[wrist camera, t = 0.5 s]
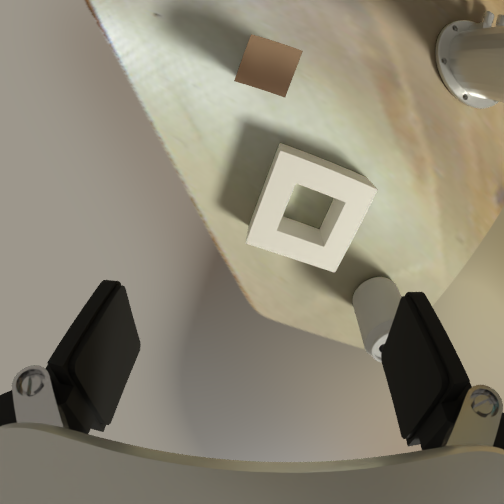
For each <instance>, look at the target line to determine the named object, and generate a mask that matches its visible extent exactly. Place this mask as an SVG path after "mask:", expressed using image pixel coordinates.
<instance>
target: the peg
mask: <svg viewBox="0 0 504 504" xmlns="http://www.w3.org/2000/svg"><path fill="white" fill-rule="evenodd" d="M302 52H303V51H301V50H299V49H296V48H293V47H290V46H287V45H284V44H281V43H278V42H275V41H272V40H269V39H265V38H262V37H259V36H255V35H252V34H251V36H250V39H249V42H248V44H247V47H246V50H245V52H244V55H243V58H242V61H241V63H240V66H239V69H238V72H237V75H236V77H235V80H234V81H236V82H239V83H243V84H246V85H249V86H252V87H256V88H259V89H262V90H265V91H268V92H271V93H274V94H277V95H279V96H282V97H285V96H286V93H287V91H288V88H289V86H290V83H291V80H292V78H293V75H294V72H295V70H296V67H297V65H298V62H299V59H300V57H301V54H302Z"/></svg>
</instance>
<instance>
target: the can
mask: <svg viewBox="0 0 504 504" xmlns="http://www.w3.org/2000/svg"><path fill="white" fill-rule="evenodd" d="M401 297H402V296H401V294H400V292H399V290H398V288H397V286H396V284H395V283H394V282H393V281H392V280H390V279H388V278H384V277H376V278H371V279H369V280H367V281H365V282H363V283H362V284H361V285H360V286H359V287H358V288H357V289H356V291H355V292H354V295H353V307H354V310H355V314H356V317H357V321H358V324H359V328H360V332H361V336H362V339H363V343H364V347H365V349H366V352H367V353H369V354H370V355H371V356H372V357H373V358H374V359H375V360H376V361H379V362H382V361H381V353H382V350H383V347H384V345H385V342H386V339H387V337H388V334H389V331H390V328H391V325H392V323H393V320H394V317H395V314H396V311H397V308H398V305H399V302H400V299H401Z"/></svg>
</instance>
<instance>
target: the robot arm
mask: <svg viewBox="0 0 504 504" xmlns="http://www.w3.org/2000/svg"><path fill="white" fill-rule="evenodd" d="M483 18H484V19H483V22H481V23H475V22H473V21H468V20H459V21H455V22H452V23H450V24H448V25H446V26H445V27H444V28H443V29H442V31H441V32H440V34H439V36H438V39H437V42H436V49H435V53H436V63H437V68H438V70H439V73H440V76H441V78H442V80H443V82H444V84H445V86H446V87H447V88H448V90H449V91H450V92H451V93H452V94H453V96H454V97H455V98H457V99H458V100H459V101H460V102H462V103H464V104H466V105H468V106H471V107H474V108H480V109H482V108H489V107H492V106H494V105H495V104H497V103H498V102H503V103H504V15H498V17H497V21H496V27H491V25H492V23H493V19H494V14H493V13H491V12H489V11H485V14H484V17H483ZM441 60H442V61H441ZM139 351H140V340H139V337H138V333H137V330H136V326H135V323H134V319H133V316H132V312H131V308H130V304H129V300H128V297H127V293H126V289H125V287H124V286H121V283H120V282H119V281H109V280H103V281H102V282H101V283H100V285H99V286H98V288H97V289H96V290H95V292H94V293H93V295H92V296H91V297H90V299H89V300H88V302H87V303H86V304H85V306H84V307H83V309H82V310H81V312H80V313H79V315H78V316H77V318H76V319H75V320H74V322H73V323H72V325H71V326H70V328H69V329H68V331H67V333H66V334H65V336H64V337H63V339H62V340H61V342H60V343H59V345H58V346H57V348H56V350H55V352H54V353H53V354H52V356H51V358H50V359H49V361H48V365H47V367H46V369H45V368H43V367H41V366H37V365H33V366H29V367H26V368H24V369H22V370H21V371H20V372H19V373H18V374H17V375H16V377H15V378H14V380H13V383H12V390H11V391H9V392H7V393H4V394H2V395H0V504H504V413H503V412H502V410H503V404H502V400H501V398H500V396H499V394H498V393H497V392H496V391H495V390H494V389H491V388H490V387H488V386H485V385H476V386H473V387H472V386H471V384H470V380H469V378H468V376H467V374H466V371H465V369H464V367H463V365H462V363H461V361H460V359H459V357H458V355H457V353H456V351H455V349H454V347H453V345H452V343H451V341H450V339H449V337H448V335H447V333H446V331H445V330H444V328H443V326H442V324H441V322H440V320H439V319H438V317H437V315H436V313H435V311H434V309H433V308H432V306H431V304H430V302H429V301H428V299H427V297H426V295H425V294H424V293H423V292H408V293H406V295H405V296H403V297H401V299H400V302H399V305H398V308H397V311H396V314H395V317H394V320H393V323H392V325H391V328H390V331H389V334H388V337H387V339H386V342H385V345H384V347H383V350H382V353H381V361H382V364H383V368H384V371H385V375H386V378H387V382H388V385H389V389H390V393H391V397H392V400H393V404H394V408H395V412H396V415H397V420H398V424H399V428H400V432H401V436H402V437H403V439H406V440H407V445H408V446H413V445H418V444H421V448H422V451H416V452H410V453H403V454H396V455H389V456H381V457H373V458H364V459H353V460H341V461H326V462H256V461H239V460H226V459H216V458H206V457H198V456H190V455H183V454H176V453H170V452H164V451H159V450H153V449H148V448H143V447H138V446H133V445H129V444H124V443H120V442H116V441H112V440H108V439H104V438H100V437H96V436H92V435H89V434H88V433H89V431H90V428H91V429H94V430H98V431H102V432H103V431H104V429H105V426H106V425H109V424H110V423H111V421H112V418H113V416H114V413H115V410H116V408H117V405H118V403H119V400H120V398H121V395H122V393H123V390H124V387H125V385H126V383H127V380H128V378H129V375H130V373H131V370H132V368H133V365H134V363H135V361H136V358H137V356H138V353H139Z"/></svg>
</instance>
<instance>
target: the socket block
mask: <svg viewBox="0 0 504 504" xmlns="http://www.w3.org/2000/svg"><path fill="white" fill-rule="evenodd" d="M296 184H299V185H302V186H304V187H307V188H310V189H312V190H315V191H318V192H320V193H323V194H325V195H328V196H331V197H333V198H334V199H333V201H332V203H331V205H330V208H329V210H328V212H327V214H326V216H325V218H324V221H323V223H322V225H321V227H320V229H317V228H315V227H312V226H309V225H306V224H303V223H301V222H298V221H295V220H292V219H289V218H286V217H283V214H284V211H285V209H286V207H287V204H288V202H289V199H290V197H291V194H292V192H293V190H294V187H295V185H296ZM376 192H377V188H376V187H375V186H374V185H373V184H372V183H371V182H370V181H369V179H368V178H367V177H365V176H362V175H360V174H358V173H356V172H353V171H351V170H349V169H346V168H344V167H341V166H339V165H337V164H334V163H332V162H329V161H327V160H324V159H322V158H319V157H317V156H314V155H312V154H309V153H306V152H304V151H301V150H298V149H296V148H293V147H290V146H288V145H285V144H282V143H279V146H278V149H277V151H276V154H275V157H274V159H273V162H272V165H271V167H270V170H269V173H268V175H267V178H266V181H265V183H264V186H263V189H262V191H261V194H260V197H259V199H258V202H257V205H256V207H255V210H254V213H253V216H252V218H251V221H250V224H249V227H248V233H247V238H246V244H249V245H252V246H255V247H259V248H262V249H265V250H268V251H271V252H274V253H277V254H280V255H283V256H286V257H289V258H292V259H295V260H298V261H301V262H304V263H307V264H310V265H313V266H316V267H319V268H322V269H325V270H328V271H331V272H334V273H335V272H336V270H337V268H338V266H339V264H340V262H341V261H342V259H343V257H344V255H345V253H346V251H347V249H348V248H349V246H350V244H351V242H352V240H353V238H354V236H355V234H356V232H357V230H358V228H359V226H360V224H361V222H362V221H363V219H364V217H365V215H366V213H367V211H368V209H369V207H370V205H371V202H372V200H373V198H374V196H375V194H376Z"/></svg>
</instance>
